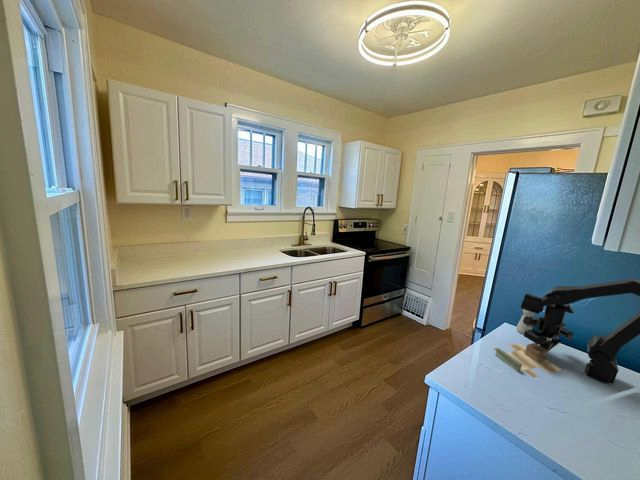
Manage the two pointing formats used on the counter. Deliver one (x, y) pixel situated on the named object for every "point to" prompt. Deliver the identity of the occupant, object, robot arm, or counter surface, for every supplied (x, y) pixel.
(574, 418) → the counter surface
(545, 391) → the counter surface
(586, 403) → the counter surface
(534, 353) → the walnut block
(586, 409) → the counter surface
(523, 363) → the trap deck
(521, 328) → the salt shaker
